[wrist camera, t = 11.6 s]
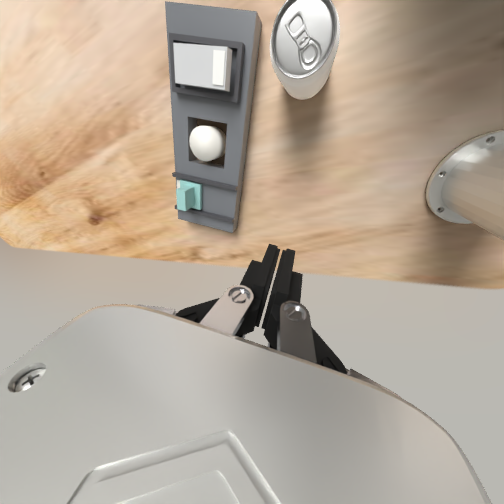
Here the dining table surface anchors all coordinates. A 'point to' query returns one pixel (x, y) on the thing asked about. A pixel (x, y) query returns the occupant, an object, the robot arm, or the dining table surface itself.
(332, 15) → the can
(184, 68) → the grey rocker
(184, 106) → the control panel
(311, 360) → the robot arm
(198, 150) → the push button
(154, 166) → the dining table surface
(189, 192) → the teal slide switch
